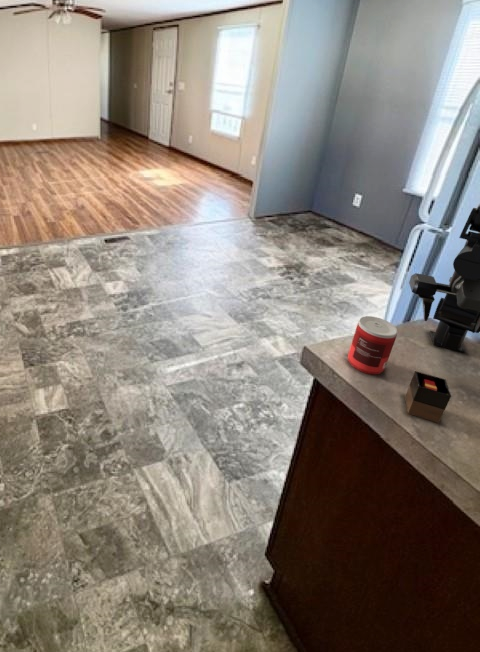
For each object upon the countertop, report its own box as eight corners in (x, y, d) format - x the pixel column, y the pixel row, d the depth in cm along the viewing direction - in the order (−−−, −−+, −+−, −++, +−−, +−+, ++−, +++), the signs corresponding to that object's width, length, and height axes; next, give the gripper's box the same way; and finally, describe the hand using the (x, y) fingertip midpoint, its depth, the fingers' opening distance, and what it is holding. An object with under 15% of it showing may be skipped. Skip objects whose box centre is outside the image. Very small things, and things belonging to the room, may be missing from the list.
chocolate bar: (419, 387, 88) (423, 378, 87) (430, 391, 87) (434, 381, 86) (422, 400, 85) (426, 390, 84) (434, 403, 84) (438, 394, 83)
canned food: (373, 354, 104) (386, 316, 99) (391, 376, 96) (405, 337, 92) (341, 352, 104) (352, 314, 100) (356, 374, 97) (369, 334, 93)
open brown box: (409, 384, 89) (414, 371, 88) (439, 393, 87) (445, 379, 86) (413, 400, 85) (418, 386, 84) (444, 410, 83) (451, 395, 81)
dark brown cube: (404, 397, 91) (409, 384, 89) (434, 406, 88) (439, 393, 87) (407, 413, 86) (413, 400, 85) (438, 423, 84) (444, 410, 83)
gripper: (428, 269, 86) (404, 332, 92) (551, 292, 78) (516, 360, 84) (419, 249, 95) (399, 308, 101) (529, 268, 87) (499, 331, 93)
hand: (450, 326), depth 95 cm, fingers open, 9 cm apart
